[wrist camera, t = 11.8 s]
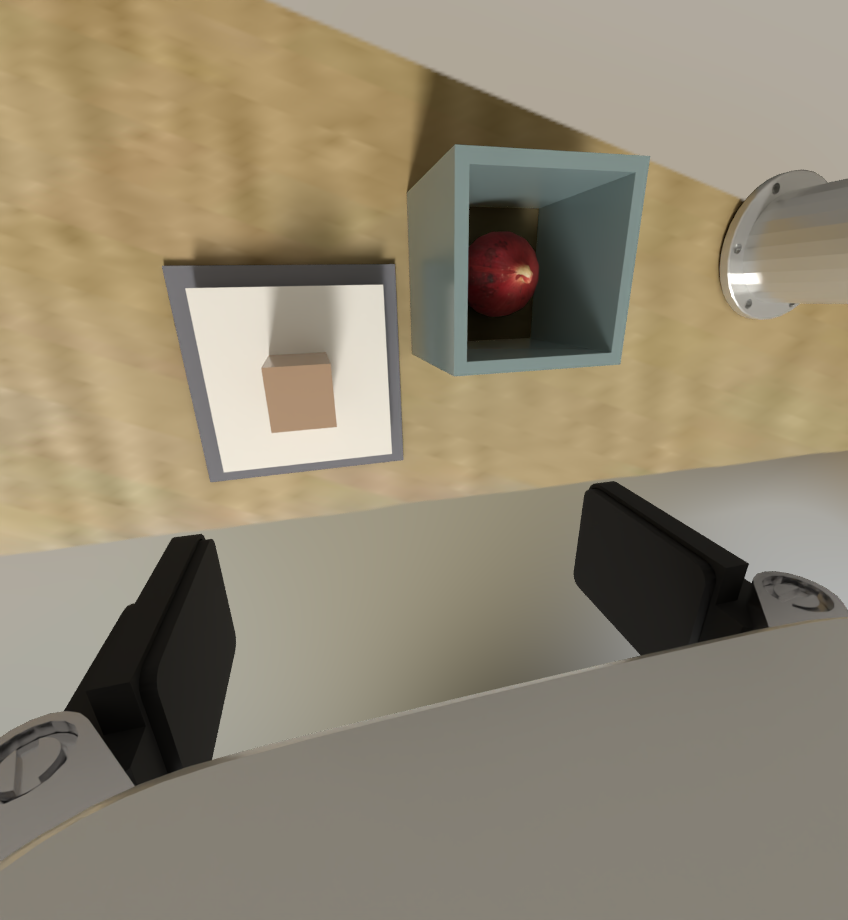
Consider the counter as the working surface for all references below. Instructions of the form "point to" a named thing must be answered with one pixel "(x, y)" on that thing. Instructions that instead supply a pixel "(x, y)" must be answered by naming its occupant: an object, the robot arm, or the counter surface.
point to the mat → (277, 277)
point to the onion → (501, 273)
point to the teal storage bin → (558, 254)
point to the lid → (294, 372)
